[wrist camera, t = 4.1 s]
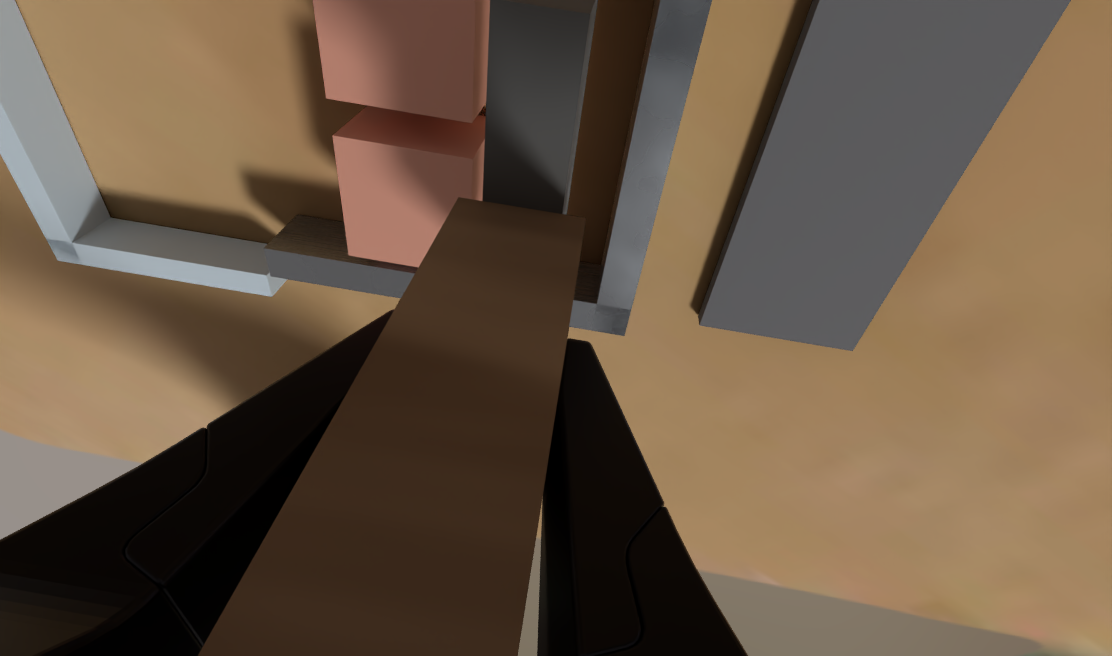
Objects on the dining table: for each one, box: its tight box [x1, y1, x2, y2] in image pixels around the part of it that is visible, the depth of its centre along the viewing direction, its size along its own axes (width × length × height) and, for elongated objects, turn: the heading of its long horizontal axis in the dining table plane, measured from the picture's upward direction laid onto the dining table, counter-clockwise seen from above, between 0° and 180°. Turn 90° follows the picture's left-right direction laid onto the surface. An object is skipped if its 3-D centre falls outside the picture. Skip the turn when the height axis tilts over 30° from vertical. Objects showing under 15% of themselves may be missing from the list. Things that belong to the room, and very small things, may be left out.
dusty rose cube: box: [313, 0, 490, 123], centre depth 15 cm, size 4×4×4 cm
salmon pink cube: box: [332, 105, 486, 267], centre depth 18 cm, size 4×4×4 cm
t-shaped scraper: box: [198, 0, 598, 656], centre depth 9 cm, size 9×2×11 cm, turn 173°
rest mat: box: [698, 0, 1071, 351], centre depth 17 cm, size 14×6×1 cm, turn 173°
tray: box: [0, 0, 287, 297], centre depth 17 cm, size 16×8×2 cm, turn 173°
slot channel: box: [263, 0, 712, 336], centre depth 17 cm, size 13×13×2 cm
